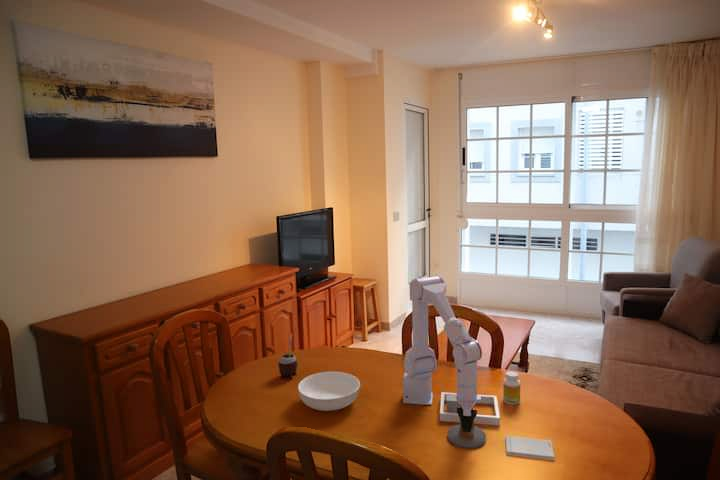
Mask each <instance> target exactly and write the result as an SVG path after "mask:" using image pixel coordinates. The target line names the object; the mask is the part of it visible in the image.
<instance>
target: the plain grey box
mask: <svg viewBox="0 0 720 480" xmlns="http://www.w3.org/2000/svg"><path fill="white" fill-rule="evenodd" d="M457 407H458V408H460V405H459V403H458V401H457V400H456V395H448V394H447V401H446V412H449V413H457Z"/></svg>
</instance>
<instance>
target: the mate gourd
mask: <svg viewBox="0 0 720 480" xmlns="http://www.w3.org/2000/svg"><path fill="white" fill-rule="evenodd" d="M292 337H293V333H290V336H289V343H288V344H289V345H288V347H289V348H288V353H285V354H282V355H281V356H280V357H279V359H278V370H279V371H278V372H279V374H280V379H285V378H286V379H287V378H288V379H290V380H293V379H294V378H293V376H296V375H297V368H298V360H297V356H295V355H294V354H292V353H291V352H292Z"/></svg>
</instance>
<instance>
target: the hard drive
mask: <svg viewBox="0 0 720 480" xmlns="http://www.w3.org/2000/svg"><path fill="white" fill-rule="evenodd" d="M552 443H553V442H552V440H548V439H538V438H530V437H521V436H515V435H514V436H512V435H505V452H506V455H507V456H515V457H522V458H531V459H539V460H547V461H555V460H556V458H555V453H554V452H555V451H554V447H553V444H552Z"/></svg>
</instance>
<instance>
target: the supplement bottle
mask: <svg viewBox="0 0 720 480" xmlns="http://www.w3.org/2000/svg"><path fill="white" fill-rule="evenodd" d="M502 385H503V389H502V390H503V392H502V395H503V396H502V400H503V402H504V403H506V404H508V405H512V406H513V405H515V406H516V405H518V404H520V403H521V402H520V401H521V381H520V379H519V373H518V372H517V371H511V370H510V371H509V370H508V371H507V372H506V373H505V378H504V379H503V384H502Z"/></svg>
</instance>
